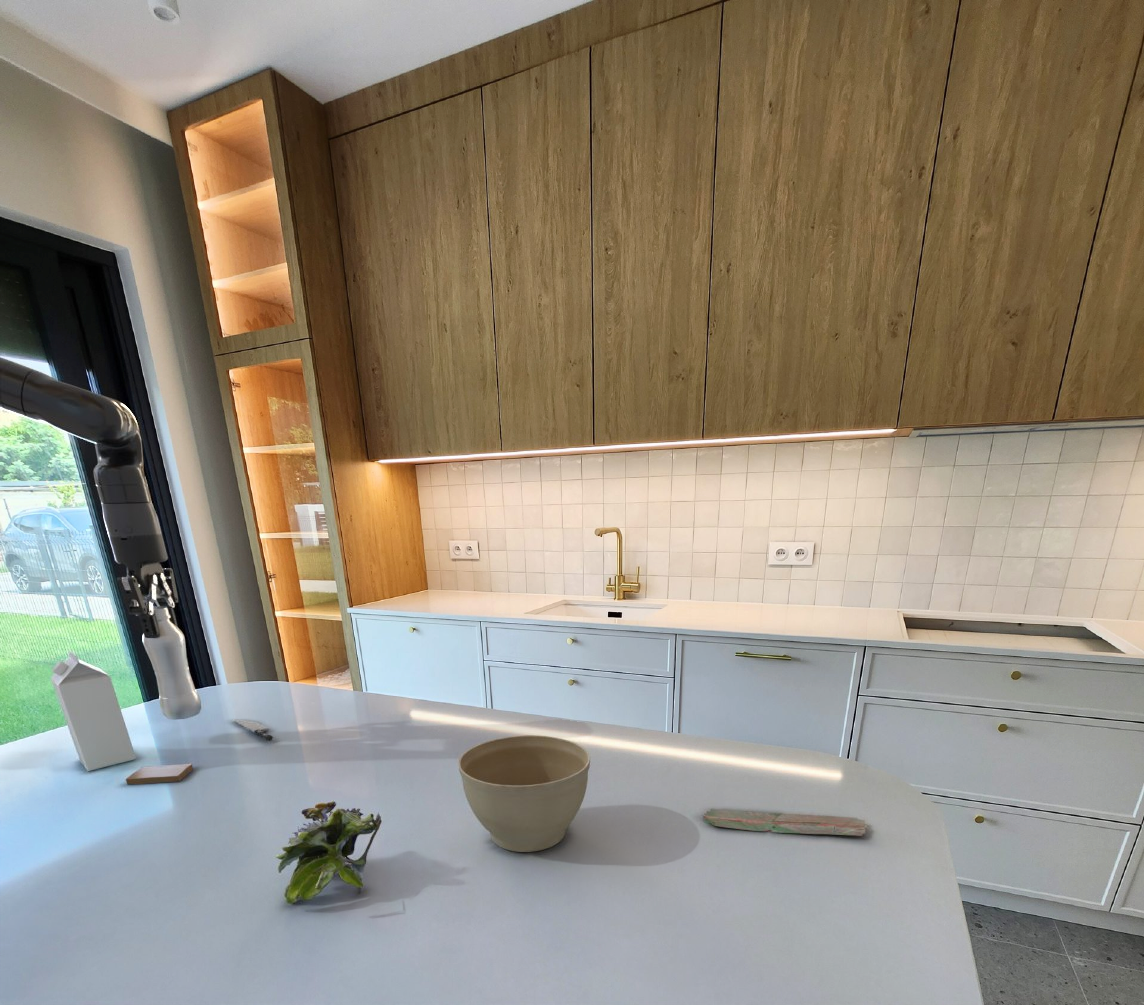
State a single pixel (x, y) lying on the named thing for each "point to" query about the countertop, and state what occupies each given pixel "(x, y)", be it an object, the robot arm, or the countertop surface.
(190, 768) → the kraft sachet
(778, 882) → the countertop surface
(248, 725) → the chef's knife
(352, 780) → the countertop surface
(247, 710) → the countertop surface
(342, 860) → the passion flower
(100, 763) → the milk carton
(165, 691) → the plastic bottle
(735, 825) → the map
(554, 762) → the planter bowl
